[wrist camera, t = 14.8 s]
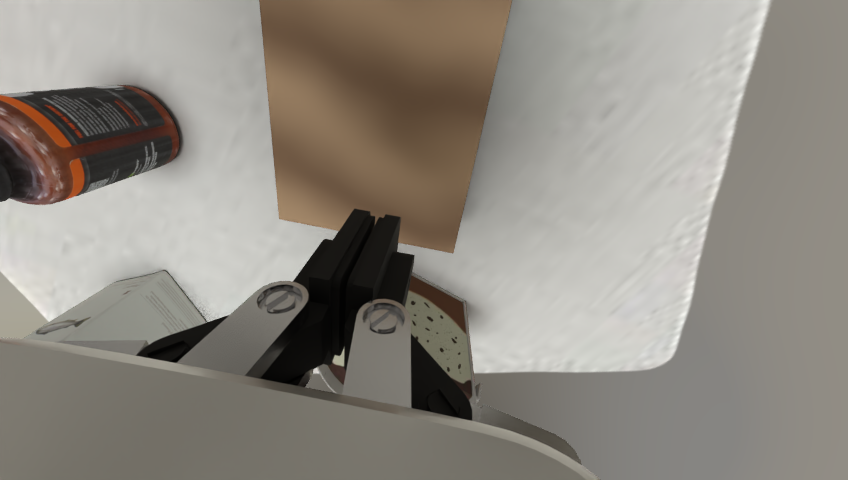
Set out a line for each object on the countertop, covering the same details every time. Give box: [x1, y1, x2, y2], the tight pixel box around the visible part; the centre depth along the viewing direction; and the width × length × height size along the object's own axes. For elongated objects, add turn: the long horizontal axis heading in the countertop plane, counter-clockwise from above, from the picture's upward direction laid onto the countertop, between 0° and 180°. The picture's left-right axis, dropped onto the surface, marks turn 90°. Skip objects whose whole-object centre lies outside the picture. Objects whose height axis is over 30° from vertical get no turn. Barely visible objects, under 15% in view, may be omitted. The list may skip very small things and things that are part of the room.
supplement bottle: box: [0, 85, 179, 205], centre depth 20 cm, size 6×6×11 cm
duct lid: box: [259, 0, 512, 253], centre depth 17 cm, size 20×12×1 cm, turn 172°
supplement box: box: [23, 271, 206, 344], centre depth 29 cm, size 7×7×13 cm
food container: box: [317, 272, 482, 405], centre depth 26 cm, size 12×6×10 cm, turn 61°
